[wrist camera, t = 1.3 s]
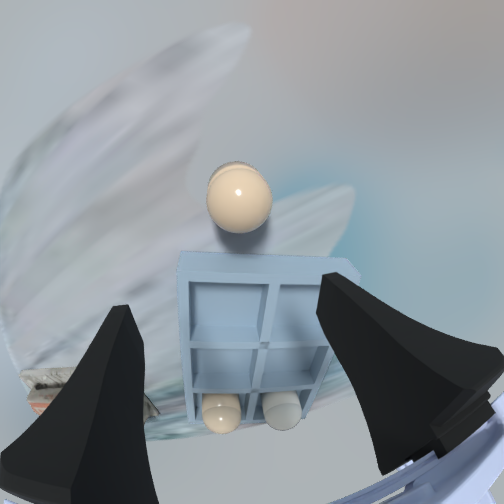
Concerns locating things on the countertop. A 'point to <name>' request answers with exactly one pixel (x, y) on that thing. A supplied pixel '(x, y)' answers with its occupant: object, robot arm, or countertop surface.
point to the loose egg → (238, 197)
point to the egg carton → (252, 327)
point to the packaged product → (58, 388)
